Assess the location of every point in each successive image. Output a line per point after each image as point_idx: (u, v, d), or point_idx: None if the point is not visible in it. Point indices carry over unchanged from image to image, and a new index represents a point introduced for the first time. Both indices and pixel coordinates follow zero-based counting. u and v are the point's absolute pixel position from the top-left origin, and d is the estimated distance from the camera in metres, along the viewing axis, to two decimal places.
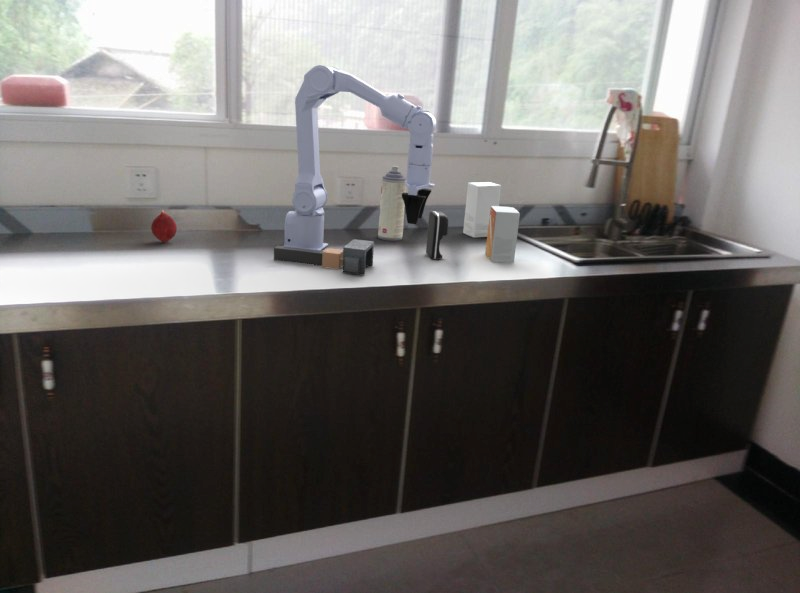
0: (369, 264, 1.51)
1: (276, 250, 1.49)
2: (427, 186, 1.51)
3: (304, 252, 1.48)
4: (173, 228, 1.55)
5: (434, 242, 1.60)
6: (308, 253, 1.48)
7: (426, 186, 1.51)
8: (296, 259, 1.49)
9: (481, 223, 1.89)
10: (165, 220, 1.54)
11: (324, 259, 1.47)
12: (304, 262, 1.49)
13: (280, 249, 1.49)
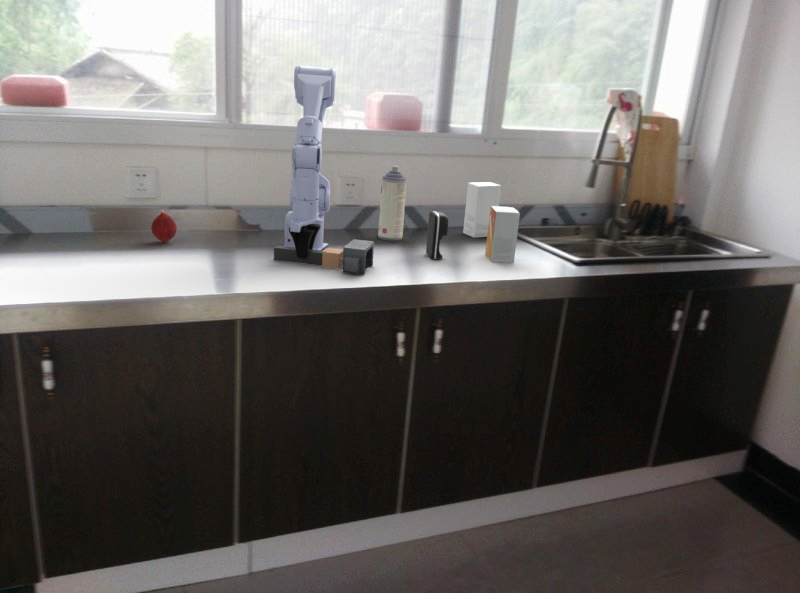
0: (369, 264, 1.51)
1: (276, 250, 1.49)
2: (313, 221, 1.45)
3: None
4: (173, 228, 1.55)
5: (434, 242, 1.60)
6: (308, 253, 1.48)
7: (312, 221, 1.45)
8: (296, 258, 1.49)
9: (481, 223, 1.89)
10: (165, 220, 1.54)
11: (324, 259, 1.47)
12: (304, 262, 1.49)
13: (280, 249, 1.49)
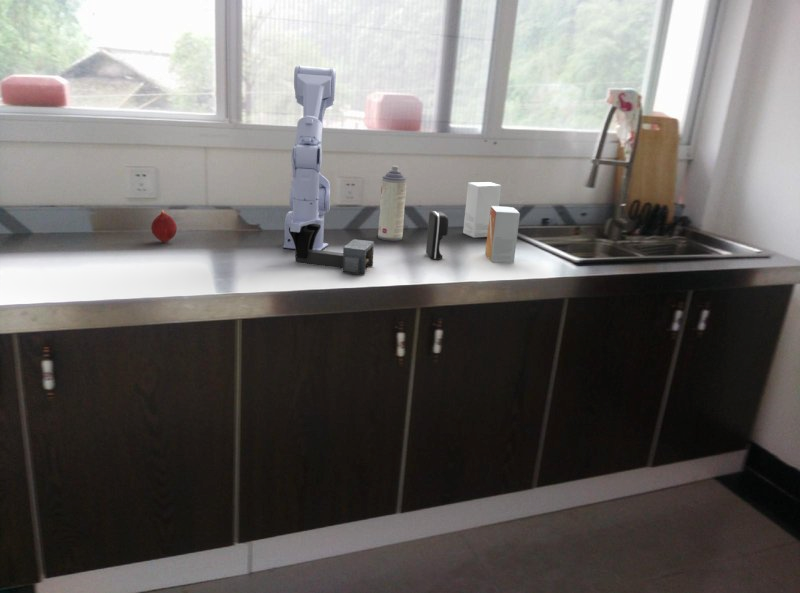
0: (369, 264, 1.51)
1: None
2: (313, 221, 1.45)
3: (326, 255, 1.47)
4: (173, 228, 1.55)
5: (434, 242, 1.60)
6: (330, 255, 1.47)
7: (312, 222, 1.45)
8: (318, 261, 1.48)
9: (481, 223, 1.89)
10: (165, 220, 1.54)
11: None
12: (326, 264, 1.48)
13: None
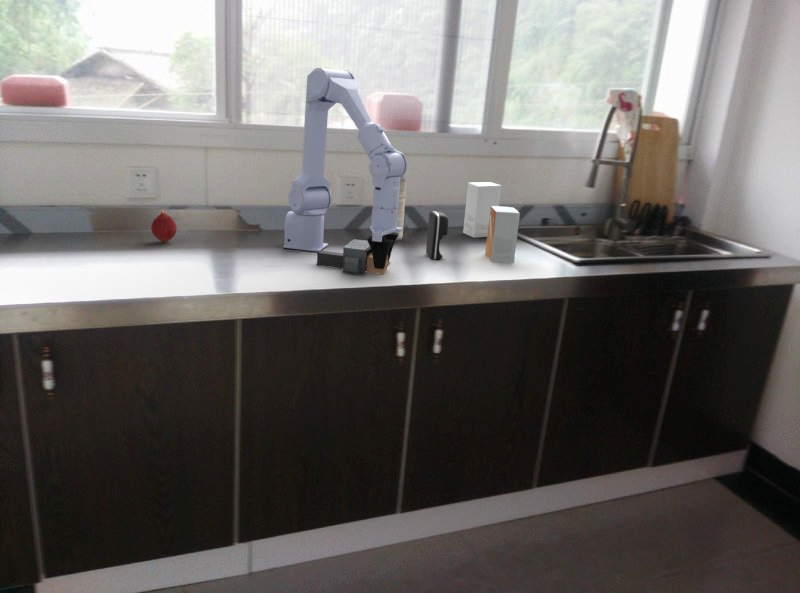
0: None
1: (320, 255, 1.48)
2: (393, 230, 1.42)
3: None
4: (173, 228, 1.55)
5: (434, 242, 1.60)
6: None
7: (392, 231, 1.42)
8: (339, 264, 1.47)
9: (481, 223, 1.89)
10: (165, 220, 1.54)
11: (369, 264, 1.45)
12: None
13: (323, 254, 1.48)
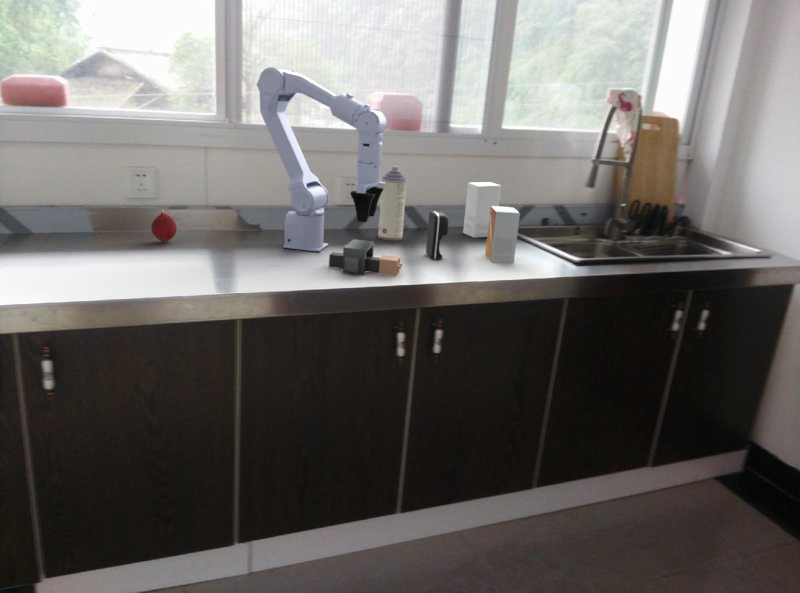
0: None
1: (332, 257, 1.47)
2: (377, 184, 1.52)
3: None
4: (173, 228, 1.55)
5: (434, 242, 1.60)
6: None
7: (376, 184, 1.52)
8: None
9: (481, 223, 1.89)
10: (165, 220, 1.54)
11: (381, 266, 1.45)
12: None
13: (336, 256, 1.47)
